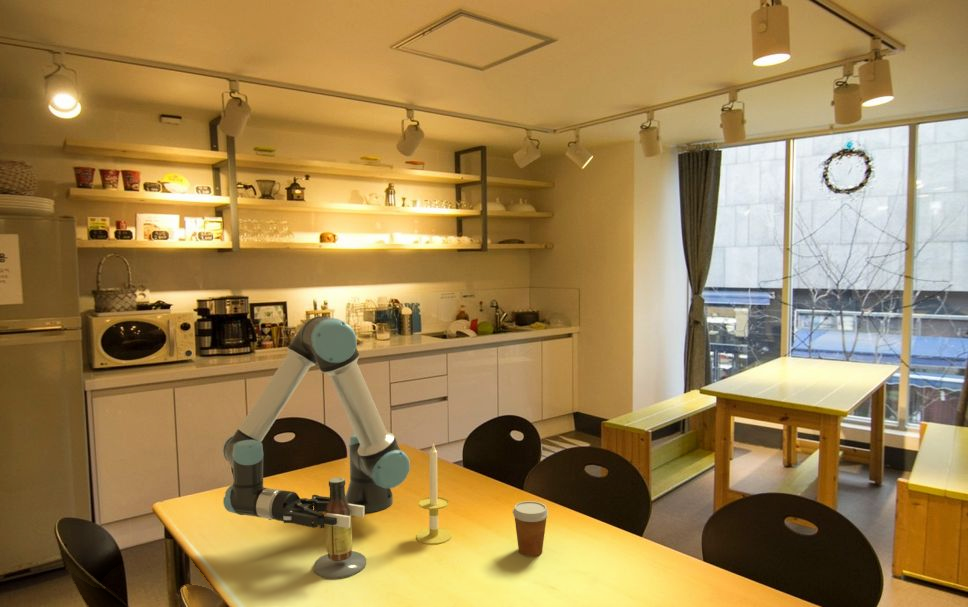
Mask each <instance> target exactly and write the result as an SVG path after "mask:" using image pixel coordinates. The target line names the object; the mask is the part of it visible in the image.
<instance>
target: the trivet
mask: <svg viewBox="0 0 968 607" xmlns="http://www.w3.org/2000/svg"><path fill="white" fill-rule="evenodd" d="M366 565H367V557H366V556H365V555H363V553H361V552H358V551H353V550H352V555H351V557H349V558H348V559H346V560H342V561H333V560H331V559H329V558H328V553H326V554H324V555H322V556H320V557H319V558H317V559H316V560H315V562H314V563H313V572H314V573H315V575H317V576H318V577H320V578H324V579H330V580H331V579H332V580H333V579H334V580H336V579H337V580H338V579H344V578H349V577H353V576H355V575H357V574H359V573H360V572H362V571H363V570H365V568H366Z"/></svg>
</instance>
